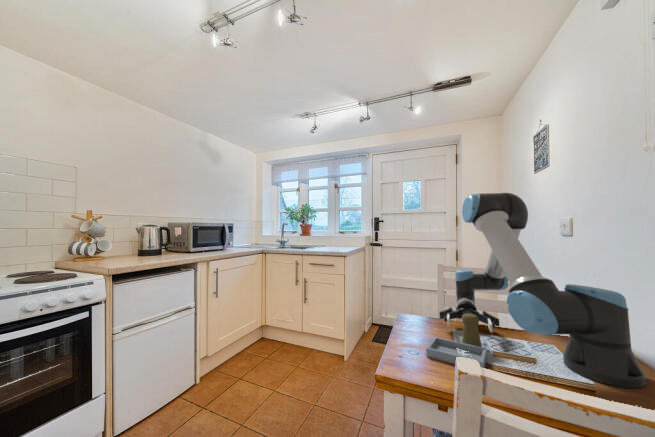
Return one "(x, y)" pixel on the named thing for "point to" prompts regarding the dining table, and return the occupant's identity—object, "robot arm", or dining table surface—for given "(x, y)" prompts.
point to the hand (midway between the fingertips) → (468, 325)
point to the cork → (471, 330)
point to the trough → (454, 351)
